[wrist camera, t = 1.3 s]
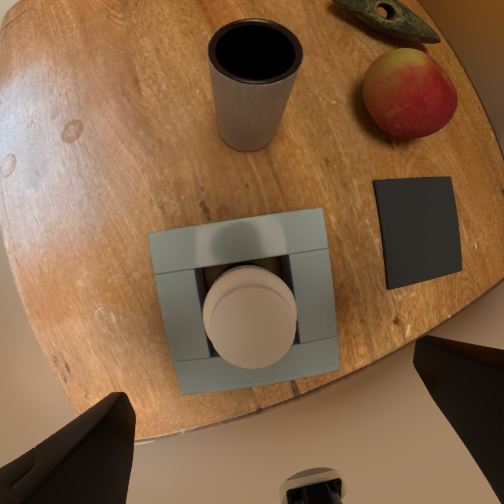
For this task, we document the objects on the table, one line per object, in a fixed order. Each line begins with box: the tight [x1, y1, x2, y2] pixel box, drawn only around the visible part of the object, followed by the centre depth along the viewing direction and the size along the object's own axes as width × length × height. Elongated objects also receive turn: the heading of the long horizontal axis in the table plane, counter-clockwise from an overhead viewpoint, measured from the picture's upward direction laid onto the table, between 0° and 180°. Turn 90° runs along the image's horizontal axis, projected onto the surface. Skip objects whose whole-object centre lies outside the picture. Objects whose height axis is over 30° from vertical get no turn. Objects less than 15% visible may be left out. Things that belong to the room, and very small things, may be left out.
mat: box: [373, 177, 462, 290], centre depth 22 cm, size 9×9×1 cm
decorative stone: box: [332, 0, 441, 44], centre depth 19 cm, size 11×8×5 cm
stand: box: [148, 207, 340, 395], centre depth 20 cm, size 11×11×4 cm
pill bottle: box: [203, 263, 297, 369], centre depth 17 cm, size 5×5×9 cm
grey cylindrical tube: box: [207, 18, 303, 152], centre depth 16 cm, size 4×4×10 cm
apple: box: [362, 48, 458, 138], centre depth 18 cm, size 8×8×8 cm
